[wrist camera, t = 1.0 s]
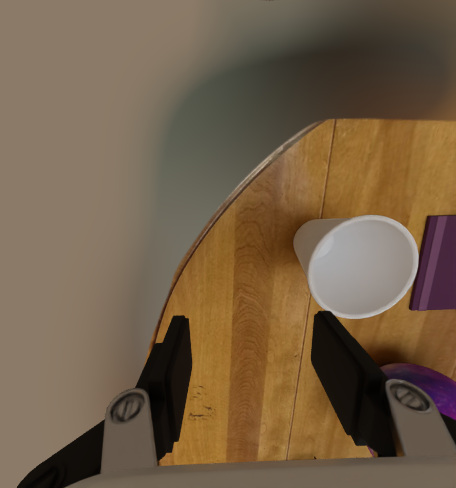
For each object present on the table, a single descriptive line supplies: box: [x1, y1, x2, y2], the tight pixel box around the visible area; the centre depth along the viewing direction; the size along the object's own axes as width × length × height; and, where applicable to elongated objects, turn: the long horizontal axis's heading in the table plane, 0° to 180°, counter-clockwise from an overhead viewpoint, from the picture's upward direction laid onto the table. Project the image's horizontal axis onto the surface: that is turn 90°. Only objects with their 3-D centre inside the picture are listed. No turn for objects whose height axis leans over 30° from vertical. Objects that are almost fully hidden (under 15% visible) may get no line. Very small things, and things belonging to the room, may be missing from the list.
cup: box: [293, 215, 419, 319], centre depth 25 cm, size 10×10×11 cm
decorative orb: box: [367, 363, 456, 457], centre depth 29 cm, size 15×15×15 cm
